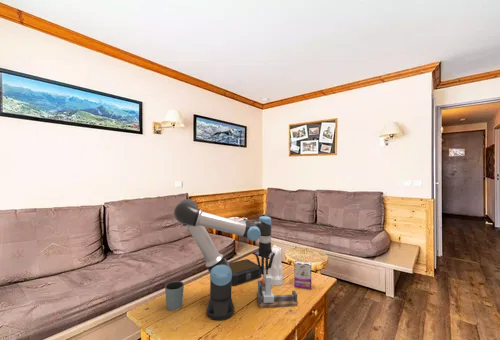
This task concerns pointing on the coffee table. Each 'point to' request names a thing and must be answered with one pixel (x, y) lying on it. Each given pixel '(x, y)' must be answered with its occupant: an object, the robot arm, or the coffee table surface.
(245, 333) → the coffee table surface
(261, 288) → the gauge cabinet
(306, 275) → the candy bar box
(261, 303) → the slide rail
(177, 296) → the grey cup
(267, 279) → the carriage
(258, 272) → the cash box
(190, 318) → the coffee table surface
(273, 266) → the decorative vase
